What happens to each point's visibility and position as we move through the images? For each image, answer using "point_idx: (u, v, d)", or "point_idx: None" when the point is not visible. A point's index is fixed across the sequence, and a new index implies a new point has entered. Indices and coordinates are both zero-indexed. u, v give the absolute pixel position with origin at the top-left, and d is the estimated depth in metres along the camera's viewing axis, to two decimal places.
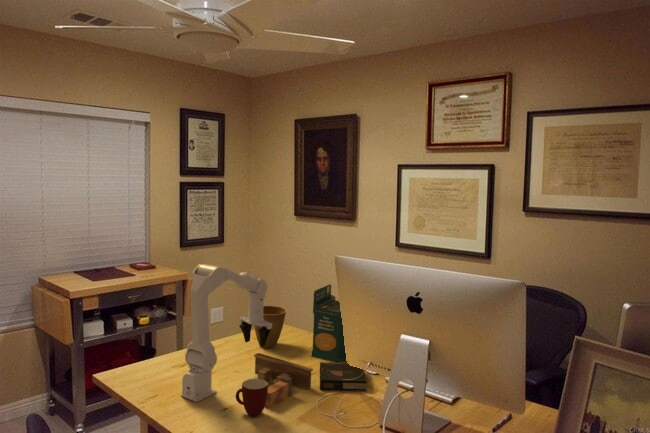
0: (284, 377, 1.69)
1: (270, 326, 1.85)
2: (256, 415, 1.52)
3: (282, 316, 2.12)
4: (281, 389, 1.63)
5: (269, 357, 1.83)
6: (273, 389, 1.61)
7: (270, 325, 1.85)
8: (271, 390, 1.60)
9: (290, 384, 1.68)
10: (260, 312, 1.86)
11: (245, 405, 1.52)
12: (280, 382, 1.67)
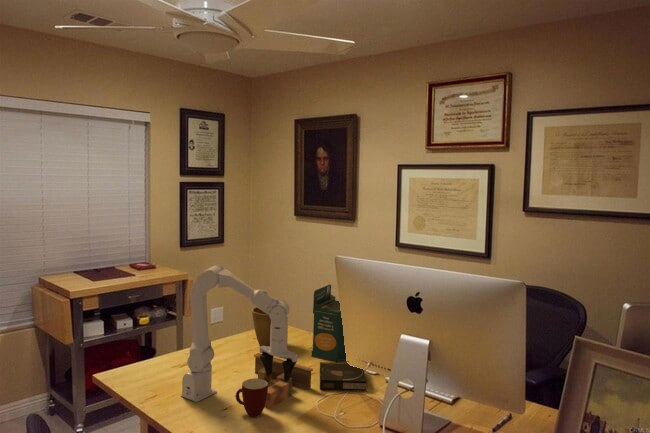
0: None
1: (296, 358, 1.59)
2: (256, 415, 1.52)
3: None
4: (281, 389, 1.63)
5: None
6: (273, 389, 1.61)
7: (296, 357, 1.59)
8: (271, 390, 1.60)
9: (290, 384, 1.68)
10: (284, 342, 1.61)
11: (245, 405, 1.52)
12: (280, 382, 1.67)
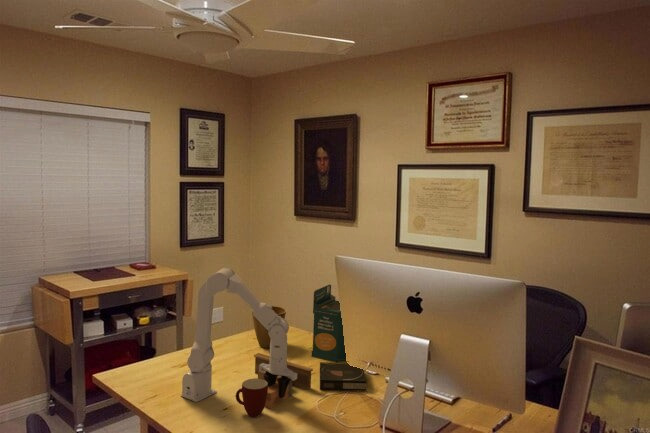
0: None
1: (295, 377, 1.60)
2: (256, 415, 1.52)
3: (282, 316, 2.12)
4: None
5: (269, 357, 1.83)
6: (273, 389, 1.61)
7: (295, 375, 1.60)
8: (271, 390, 1.60)
9: (290, 384, 1.68)
10: (283, 360, 1.61)
11: (245, 405, 1.52)
12: None
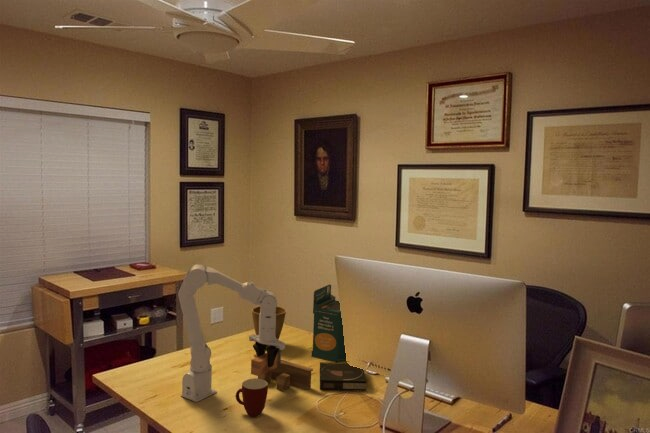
0: None
1: (283, 346, 1.66)
2: (256, 415, 1.52)
3: (282, 316, 2.12)
4: None
5: None
6: (262, 358, 1.67)
7: (283, 345, 1.66)
8: (260, 359, 1.66)
9: (279, 355, 1.74)
10: (272, 330, 1.67)
11: (245, 405, 1.52)
12: None
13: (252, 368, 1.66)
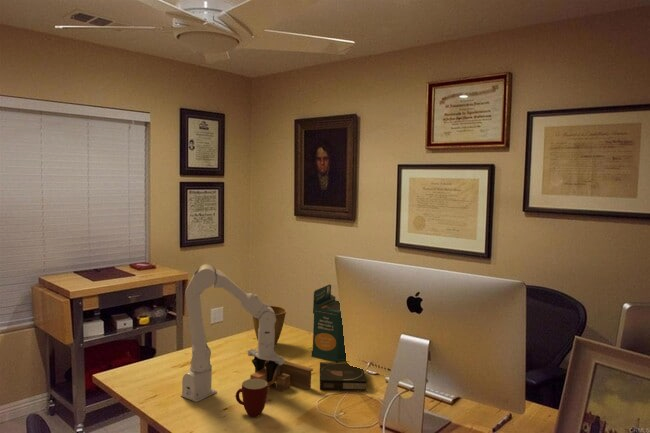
0: None
1: (282, 361, 1.67)
2: (256, 415, 1.52)
3: (282, 316, 2.12)
4: None
5: None
6: (262, 373, 1.68)
7: (282, 360, 1.67)
8: (259, 374, 1.68)
9: (278, 369, 1.75)
10: (271, 345, 1.68)
11: (245, 405, 1.52)
12: None
13: None
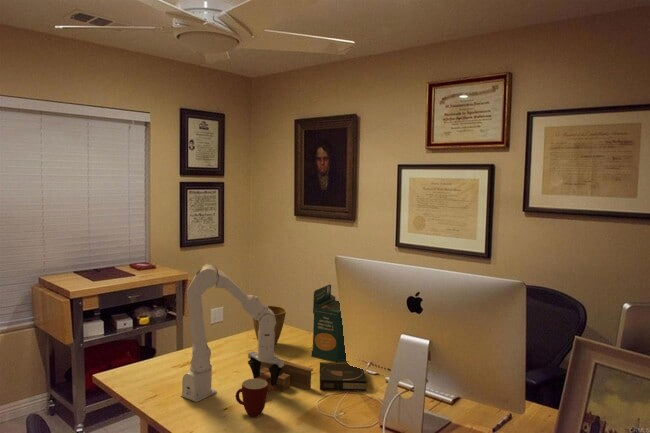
0: None
1: (282, 364, 1.67)
2: (256, 415, 1.52)
3: (282, 316, 2.12)
4: (268, 379, 1.70)
5: None
6: None
7: (282, 363, 1.67)
8: None
9: None
10: (271, 348, 1.68)
11: (245, 405, 1.52)
12: (268, 373, 1.74)
13: None
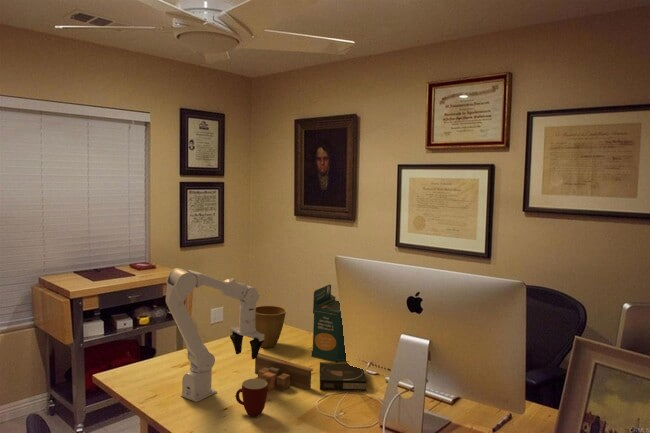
0: (272, 368, 1.76)
1: (262, 337, 1.72)
2: (256, 415, 1.52)
3: (282, 316, 2.12)
4: (268, 379, 1.70)
5: (269, 357, 1.83)
6: None
7: (262, 336, 1.72)
8: None
9: (278, 375, 1.75)
10: (252, 322, 1.74)
11: (245, 405, 1.52)
12: (268, 373, 1.74)
13: None
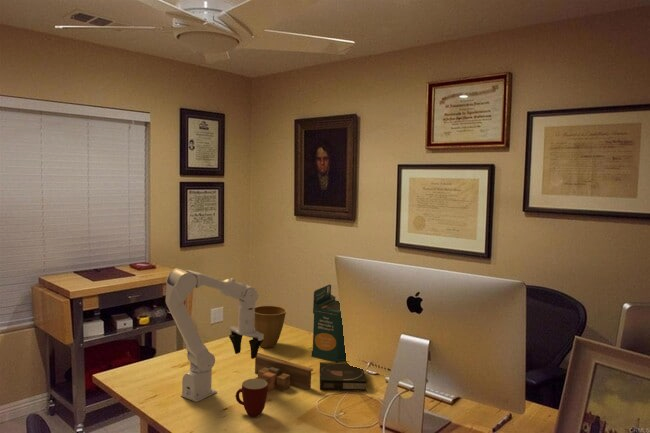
0: (272, 368, 1.76)
1: (261, 337, 1.72)
2: (256, 415, 1.52)
3: (282, 316, 2.12)
4: (268, 379, 1.70)
5: (269, 357, 1.83)
6: None
7: (261, 336, 1.72)
8: None
9: (278, 375, 1.75)
10: (251, 322, 1.74)
11: (245, 405, 1.52)
12: (268, 373, 1.74)
13: None
